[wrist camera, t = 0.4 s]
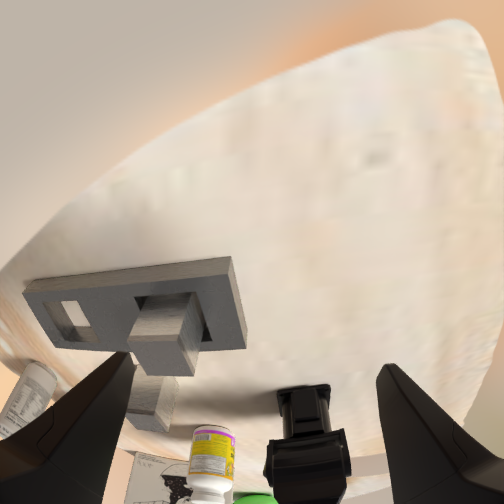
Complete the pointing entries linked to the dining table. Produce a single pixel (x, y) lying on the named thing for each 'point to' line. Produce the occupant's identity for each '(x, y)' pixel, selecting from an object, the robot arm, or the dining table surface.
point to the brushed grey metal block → (151, 401)
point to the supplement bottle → (211, 464)
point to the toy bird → (256, 500)
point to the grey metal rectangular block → (168, 334)
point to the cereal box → (161, 482)
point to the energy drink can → (27, 398)
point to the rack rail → (138, 304)
